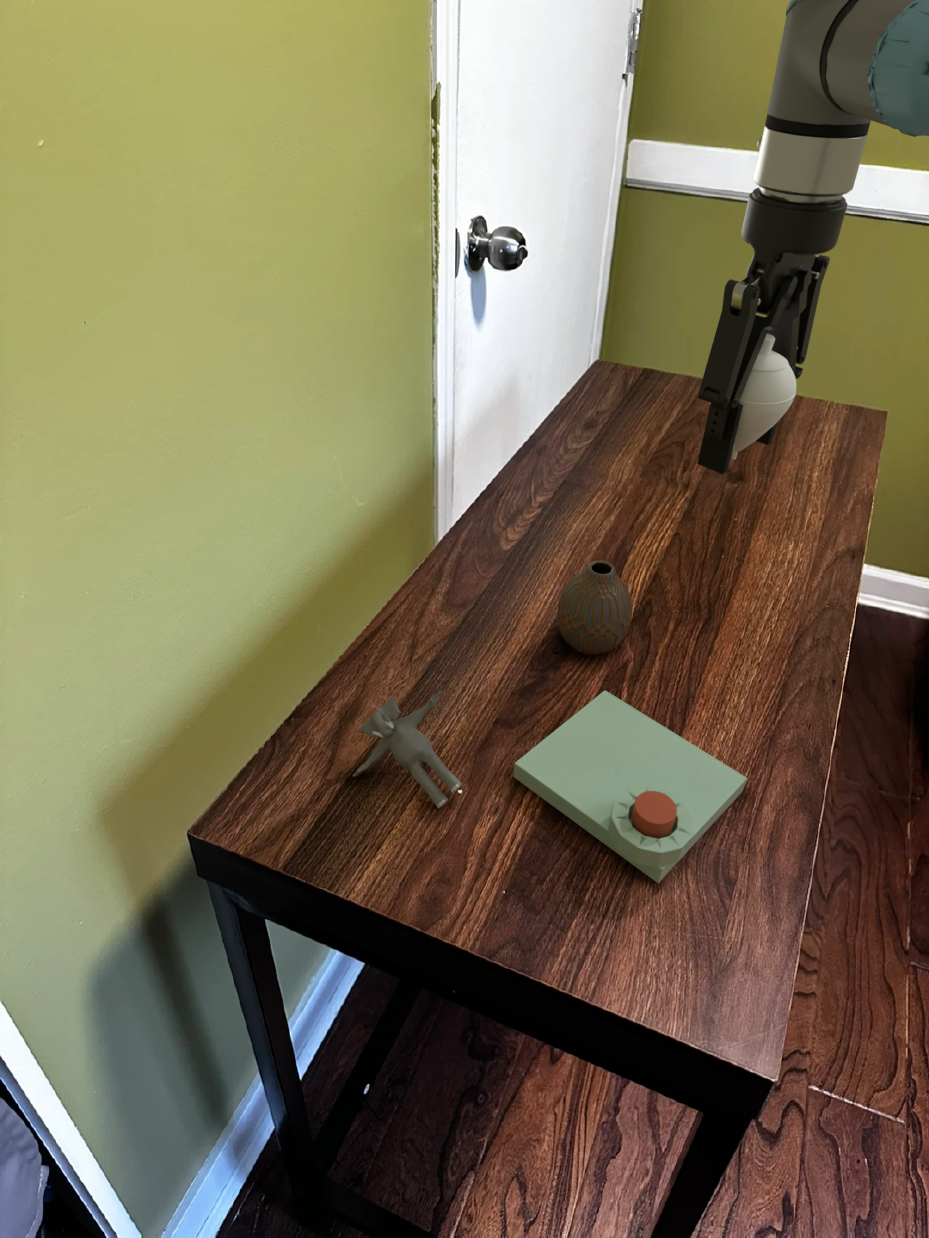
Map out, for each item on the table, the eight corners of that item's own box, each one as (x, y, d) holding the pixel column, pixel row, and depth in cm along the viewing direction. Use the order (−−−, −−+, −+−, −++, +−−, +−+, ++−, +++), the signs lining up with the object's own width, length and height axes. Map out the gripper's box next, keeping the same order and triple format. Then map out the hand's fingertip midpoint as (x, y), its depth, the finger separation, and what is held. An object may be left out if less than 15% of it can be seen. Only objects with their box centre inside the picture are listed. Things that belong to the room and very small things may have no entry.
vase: (543, 651, 81) (552, 577, 76) (568, 611, 86) (577, 538, 81) (613, 674, 79) (627, 598, 74) (634, 631, 84) (649, 557, 78)
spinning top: (709, 434, 86) (736, 314, 79) (785, 455, 83) (820, 332, 76) (680, 463, 81) (706, 338, 74) (759, 487, 78) (795, 359, 70)
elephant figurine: (392, 845, 64) (319, 754, 66) (418, 836, 70) (350, 753, 72) (488, 754, 63) (410, 665, 65) (506, 753, 68) (434, 671, 71)
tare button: (681, 820, 62) (685, 807, 61) (657, 844, 61) (661, 831, 60) (646, 797, 64) (650, 783, 63) (623, 820, 62) (626, 806, 61)
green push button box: (747, 794, 68) (758, 765, 66) (655, 895, 61) (664, 866, 59) (602, 703, 76) (607, 674, 74) (505, 783, 69) (507, 753, 66)
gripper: (814, 167, 75) (753, 409, 90) (688, 202, 64) (640, 475, 78) (899, 181, 71) (821, 433, 86) (780, 222, 60) (712, 506, 74)
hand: (735, 453), depth 82 cm, fingers closed on spinning top, 8 cm apart
